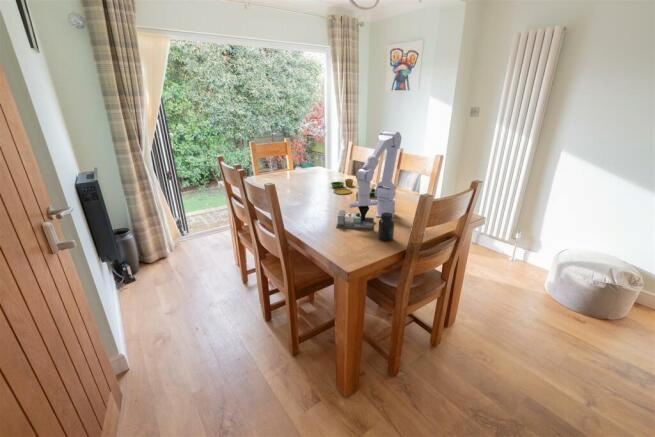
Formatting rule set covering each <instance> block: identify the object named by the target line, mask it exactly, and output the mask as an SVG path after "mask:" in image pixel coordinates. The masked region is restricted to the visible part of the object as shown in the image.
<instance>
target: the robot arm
mask: <svg viewBox="0 0 655 437" xmlns="http://www.w3.org/2000/svg"><path fill="white" fill-rule="evenodd" d="M401 141H402V134H401V132H399V131H388V130H381V131H380V132H379V135H378V137H377V144H376V146H375V148H374V150H373V153H372V154H371V155H369V156H368V157H367V158H366V160H365V162H364V164H363V165H362V167H361V168H359V169H358V170H356V174H355V179H356V180H357V181H356V184H358V186H357V187H358V189H357V192H358V201H357V200H356V201H354V202H350V203H349V202H348V208H349V209H353V208H358V210H359V213H361V219H362V220H363V221H364V220H365V217H367V216H366V215H367V213H368V211H369V210H370V206H376V212H375V217H376V218H377V217H378V218H381V215H382V213H385V212H388V213H391V214H392V215H393V216H392V217H393V218H392V219H394V218H395V213H396V210H395V209H396V208H395V207H396V199H394V198H395V197H396V185H395V184H394V183H393V178H394V177H393V176H394V171H395V166H396V161H397V156H398V151H399V150H400V148H401V143H402V142H401ZM385 150H386V157H385V160H384V166H383V173H382V177H381V181H378V183H377V184H376V186H375V188H374V189H375V196H376V197H377V198H376V199H378V200H372V201H370V199H371V198H370V188H371V181H372V180H374V174H375V171H376V169H377V167H378V164H379V162H380V160H379V159H380V157H381V156H382V154H383V153H384V151H385Z"/></svg>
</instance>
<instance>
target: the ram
mask: <svg viewBox="0 0 655 437" xmlns="http://www.w3.org/2000/svg"><path fill="white" fill-rule="evenodd" d="M355 223H358V224H361V213H360V212H355V213H354V225H355Z"/></svg>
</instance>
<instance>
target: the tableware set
mask: <svg viewBox="0 0 655 437" xmlns="http://www.w3.org/2000/svg"><path fill="white" fill-rule="evenodd" d="M344 181H345V182H342V181H332V182H331V183H330V185H331V187H332V188H333V193H334V194H336V195H349V194H351V193H353V190H352V189H349V188H351V187H354V188H355V189H356V190H358V183H356V185H355V184H353V183H354V179H353V178H346V179H345V180H344ZM344 185H345V187H346V188H343V186H344ZM347 187H348V188H347ZM376 187H377V184H376V183H373V184H372V186H370V201H371V200H372V201H375V200H376V201H378V199H377V198H376V196H375V189H376ZM355 198H356V199H355V200H356V202H357V201H358V191H356V192H355Z"/></svg>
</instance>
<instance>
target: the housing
mask: <svg viewBox="0 0 655 437" xmlns="http://www.w3.org/2000/svg"><path fill="white" fill-rule="evenodd" d="M354 217H355V213H350V212H348V213H346V214H345V224H349V225H354Z"/></svg>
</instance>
